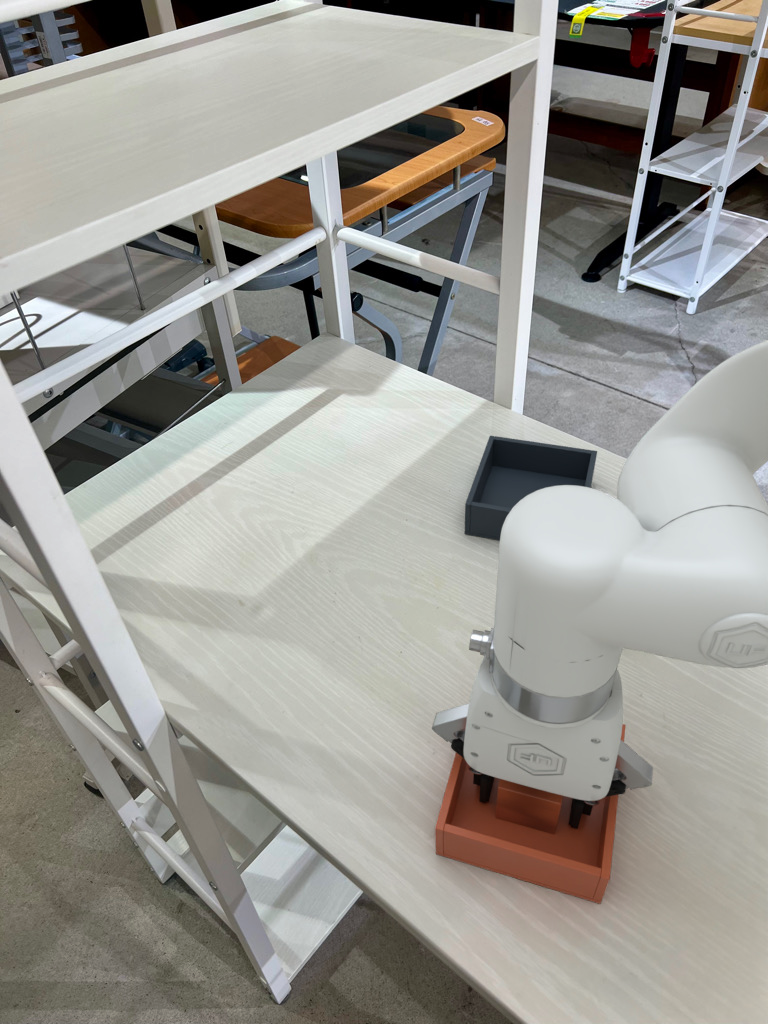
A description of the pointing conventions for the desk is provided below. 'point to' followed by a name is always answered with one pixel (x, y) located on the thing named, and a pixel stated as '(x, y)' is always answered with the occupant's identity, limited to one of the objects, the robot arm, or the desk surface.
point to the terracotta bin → (527, 839)
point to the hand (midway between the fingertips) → (531, 796)
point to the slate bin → (520, 479)
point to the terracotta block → (528, 806)
